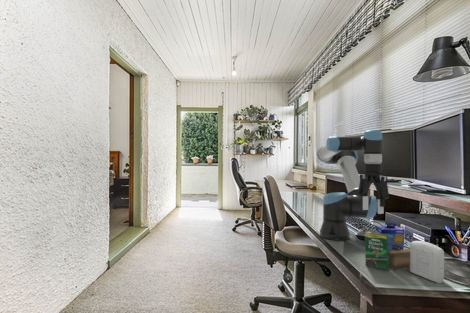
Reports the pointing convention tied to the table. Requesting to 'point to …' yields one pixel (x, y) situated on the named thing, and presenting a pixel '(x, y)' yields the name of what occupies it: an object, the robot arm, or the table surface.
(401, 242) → the ink cartridge box
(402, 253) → the walnut fence board
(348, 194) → the robot arm
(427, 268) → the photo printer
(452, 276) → the table surface
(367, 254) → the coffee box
